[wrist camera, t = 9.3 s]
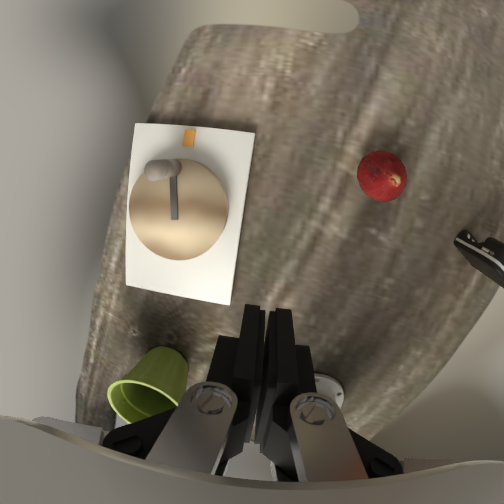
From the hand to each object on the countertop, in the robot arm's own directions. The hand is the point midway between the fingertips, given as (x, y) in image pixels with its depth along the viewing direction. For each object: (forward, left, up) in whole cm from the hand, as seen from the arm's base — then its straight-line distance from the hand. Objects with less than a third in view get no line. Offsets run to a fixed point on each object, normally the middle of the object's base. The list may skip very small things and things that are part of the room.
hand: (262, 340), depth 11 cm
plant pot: (-27, +12, -27) cm, 40 cm away
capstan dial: (-1, +11, -25) cm, 27 cm away
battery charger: (+1, -31, -27) cm, 41 cm away
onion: (+7, -12, -27) cm, 31 cm away
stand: (-2, +11, -27) cm, 29 cm away
